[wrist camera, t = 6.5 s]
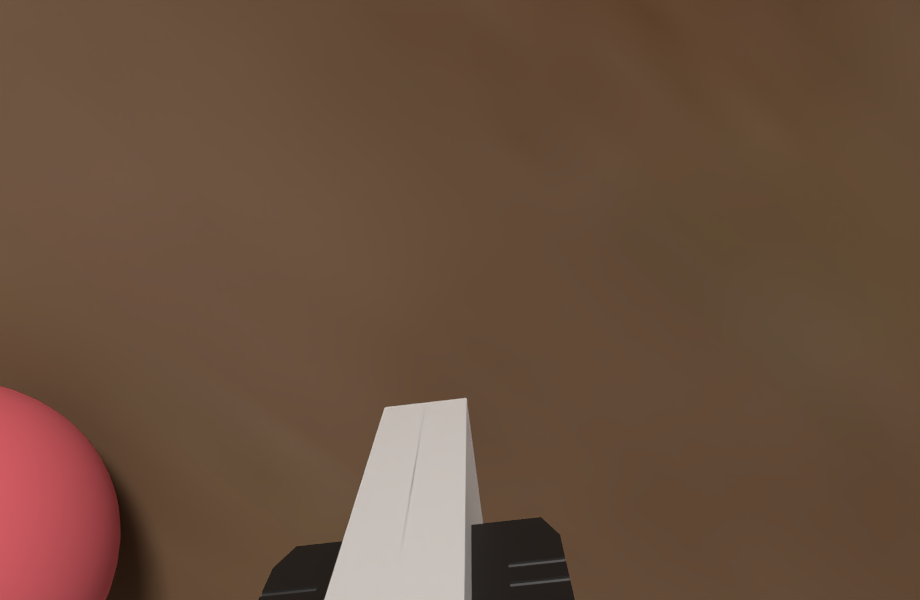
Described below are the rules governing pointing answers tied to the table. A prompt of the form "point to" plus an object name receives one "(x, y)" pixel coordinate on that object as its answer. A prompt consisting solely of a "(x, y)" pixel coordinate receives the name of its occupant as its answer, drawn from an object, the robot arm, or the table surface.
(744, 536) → the table surface
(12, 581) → the ball
